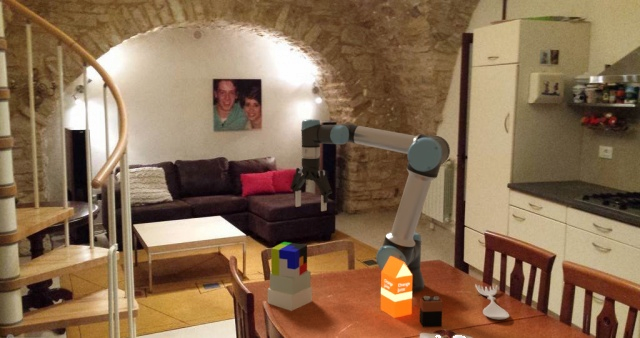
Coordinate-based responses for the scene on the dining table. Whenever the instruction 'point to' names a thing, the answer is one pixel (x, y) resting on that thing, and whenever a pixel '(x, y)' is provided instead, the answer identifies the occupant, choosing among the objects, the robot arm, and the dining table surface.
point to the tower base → (289, 298)
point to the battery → (431, 311)
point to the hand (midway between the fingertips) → (310, 208)
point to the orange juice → (396, 288)
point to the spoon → (492, 304)
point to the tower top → (290, 283)
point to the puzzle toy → (289, 259)
